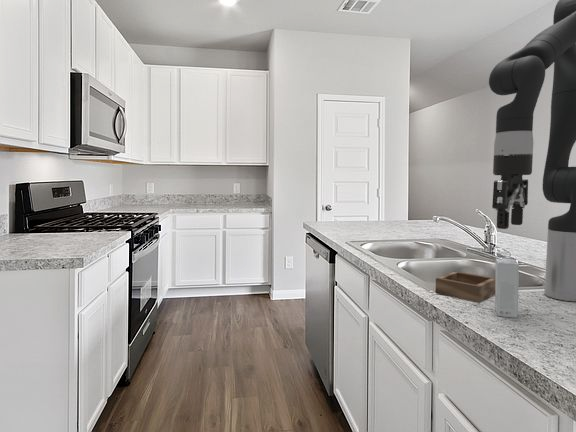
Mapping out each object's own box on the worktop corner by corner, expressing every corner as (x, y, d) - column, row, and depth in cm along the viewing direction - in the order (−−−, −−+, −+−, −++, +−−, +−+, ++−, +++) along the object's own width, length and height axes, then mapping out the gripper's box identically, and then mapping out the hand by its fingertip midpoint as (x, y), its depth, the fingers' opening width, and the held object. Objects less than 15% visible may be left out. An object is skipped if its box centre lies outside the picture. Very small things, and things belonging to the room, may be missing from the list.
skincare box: (518, 318, 88) (521, 264, 87) (495, 316, 90) (498, 262, 88) (514, 310, 94) (517, 258, 92) (493, 307, 95) (495, 257, 94)
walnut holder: (454, 284, 115) (455, 271, 115) (496, 293, 107) (497, 278, 106) (435, 292, 108) (435, 278, 107) (478, 302, 99) (479, 286, 99)
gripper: (506, 155, 95) (503, 222, 97) (481, 153, 86) (479, 228, 88) (542, 153, 90) (538, 225, 92) (520, 151, 80) (516, 231, 82)
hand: (509, 226), depth 90 cm, fingers open, 8 cm apart
